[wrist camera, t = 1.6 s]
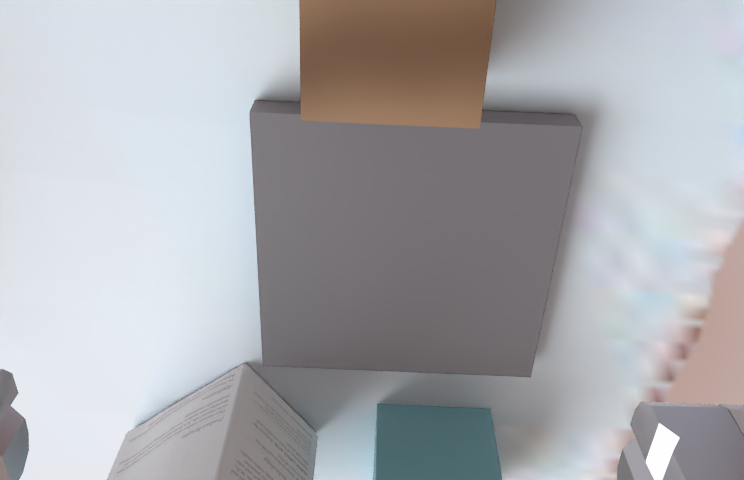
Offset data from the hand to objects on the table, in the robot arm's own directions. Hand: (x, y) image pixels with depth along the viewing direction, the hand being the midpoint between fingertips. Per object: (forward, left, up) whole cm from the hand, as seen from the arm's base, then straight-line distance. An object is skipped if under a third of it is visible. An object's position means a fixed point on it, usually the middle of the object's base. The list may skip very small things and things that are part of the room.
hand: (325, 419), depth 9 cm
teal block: (+21, +4, -19) cm, 28 cm away
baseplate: (+9, +2, -19) cm, 21 cm away
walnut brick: (-1, +1, -19) cm, 19 cm away
